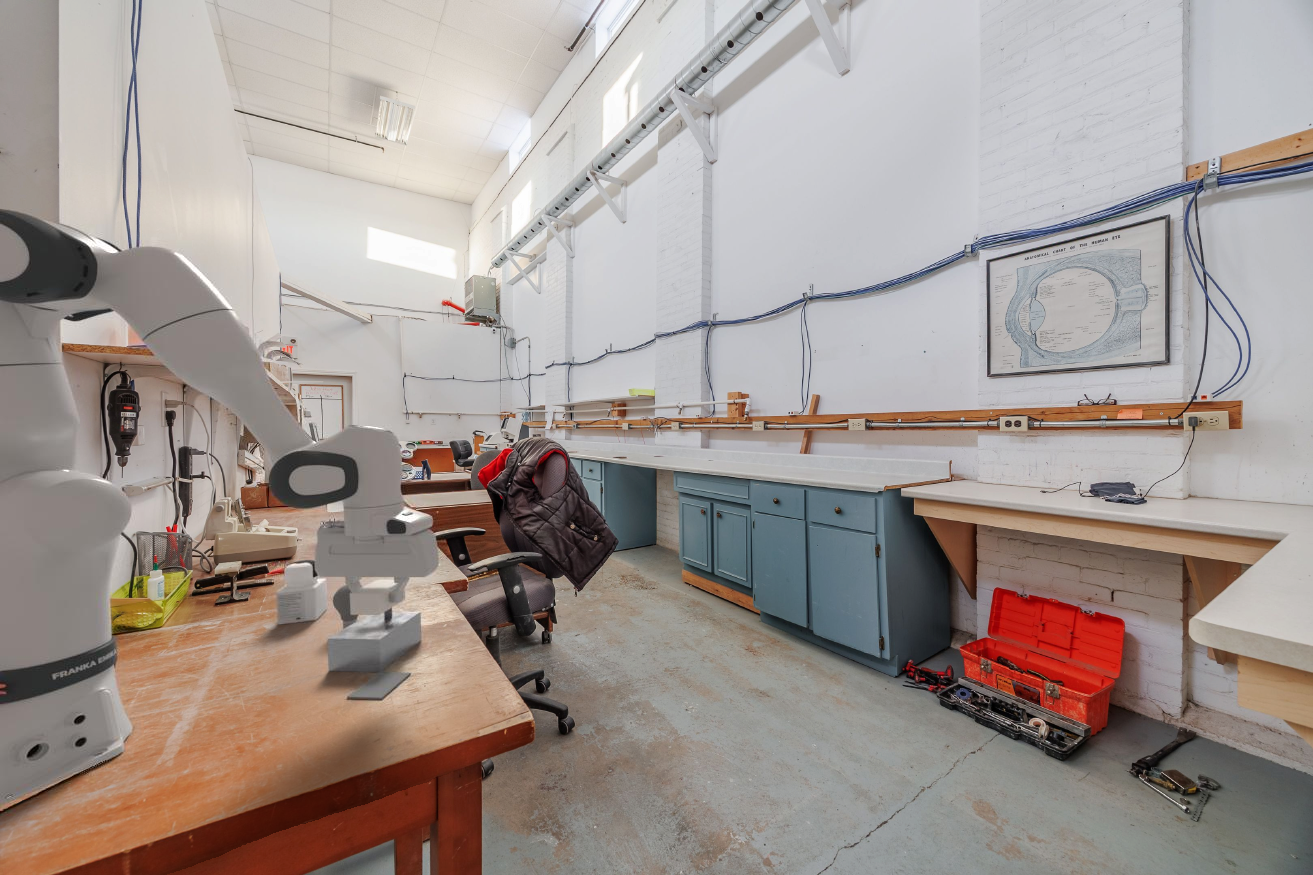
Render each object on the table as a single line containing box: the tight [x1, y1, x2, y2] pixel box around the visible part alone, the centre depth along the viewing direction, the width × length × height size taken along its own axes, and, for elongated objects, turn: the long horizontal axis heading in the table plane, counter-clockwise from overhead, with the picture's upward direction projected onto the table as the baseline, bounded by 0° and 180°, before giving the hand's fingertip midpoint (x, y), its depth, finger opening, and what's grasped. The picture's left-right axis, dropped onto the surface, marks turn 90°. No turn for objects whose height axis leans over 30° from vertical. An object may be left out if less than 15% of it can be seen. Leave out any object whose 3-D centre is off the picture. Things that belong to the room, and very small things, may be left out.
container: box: [275, 559, 328, 625], centre depth 115 cm, size 8×8×13 cm
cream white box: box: [350, 579, 406, 616], centre depth 83 cm, size 7×5×4 cm
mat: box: [346, 671, 412, 700], centre depth 83 cm, size 8×6×1 cm
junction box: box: [327, 610, 422, 673], centre depth 94 cm, size 13×10×6 cm
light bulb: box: [332, 584, 359, 630], centre depth 107 cm, size 6×6×10 cm
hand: (378, 601), depth 83 cm, fingers closed on cream white box, 5 cm apart
